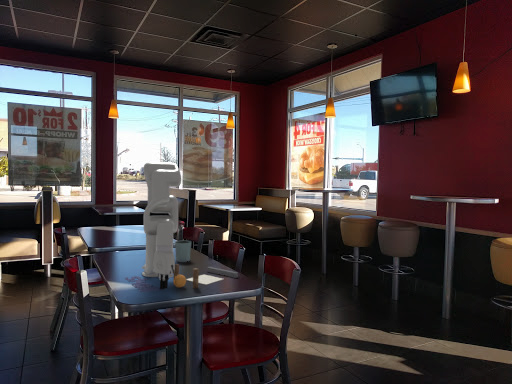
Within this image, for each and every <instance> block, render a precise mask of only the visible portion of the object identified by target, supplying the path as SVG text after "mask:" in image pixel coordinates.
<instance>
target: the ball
mask: <svg viewBox="0 0 512 384" xmlns="http://www.w3.org/2000/svg"><path fill="white" fill-rule="evenodd" d="M173 279H174V280H173V285H174V286H175V287H176V288H183V287H184V286H186V283H187V280H186V279H187V278H186V276H185V275H183V274H179V275H177V276H176V277H175V278H174V277H173Z"/></svg>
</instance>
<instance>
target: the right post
mask: <svg viewBox="0 0 512 384" xmlns="http://www.w3.org/2000/svg"><path fill="white" fill-rule="evenodd" d="M199 272H200V269H199V268H192V278H193V282H192V289H199V283H198V278H199V276H200V275H199V274H200V273H199Z"/></svg>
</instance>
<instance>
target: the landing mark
mask: <svg viewBox="0 0 512 384" xmlns="http://www.w3.org/2000/svg"><path fill="white" fill-rule="evenodd" d="M186 281H189V282H192V283H193V277H189V278H186ZM220 281H224V278H222V277H217V276H213V275H207V274H200V275H199V278H198V284H201V285H210V284H213V283H216V282H220Z"/></svg>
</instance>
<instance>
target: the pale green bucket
mask: <svg viewBox="0 0 512 384" xmlns="http://www.w3.org/2000/svg"><path fill="white" fill-rule="evenodd" d="M174 246H175V248H174V249H175V262H178V263H187V261H188V262H190V261H191V249H192V241H191V240H176V241H174Z"/></svg>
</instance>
